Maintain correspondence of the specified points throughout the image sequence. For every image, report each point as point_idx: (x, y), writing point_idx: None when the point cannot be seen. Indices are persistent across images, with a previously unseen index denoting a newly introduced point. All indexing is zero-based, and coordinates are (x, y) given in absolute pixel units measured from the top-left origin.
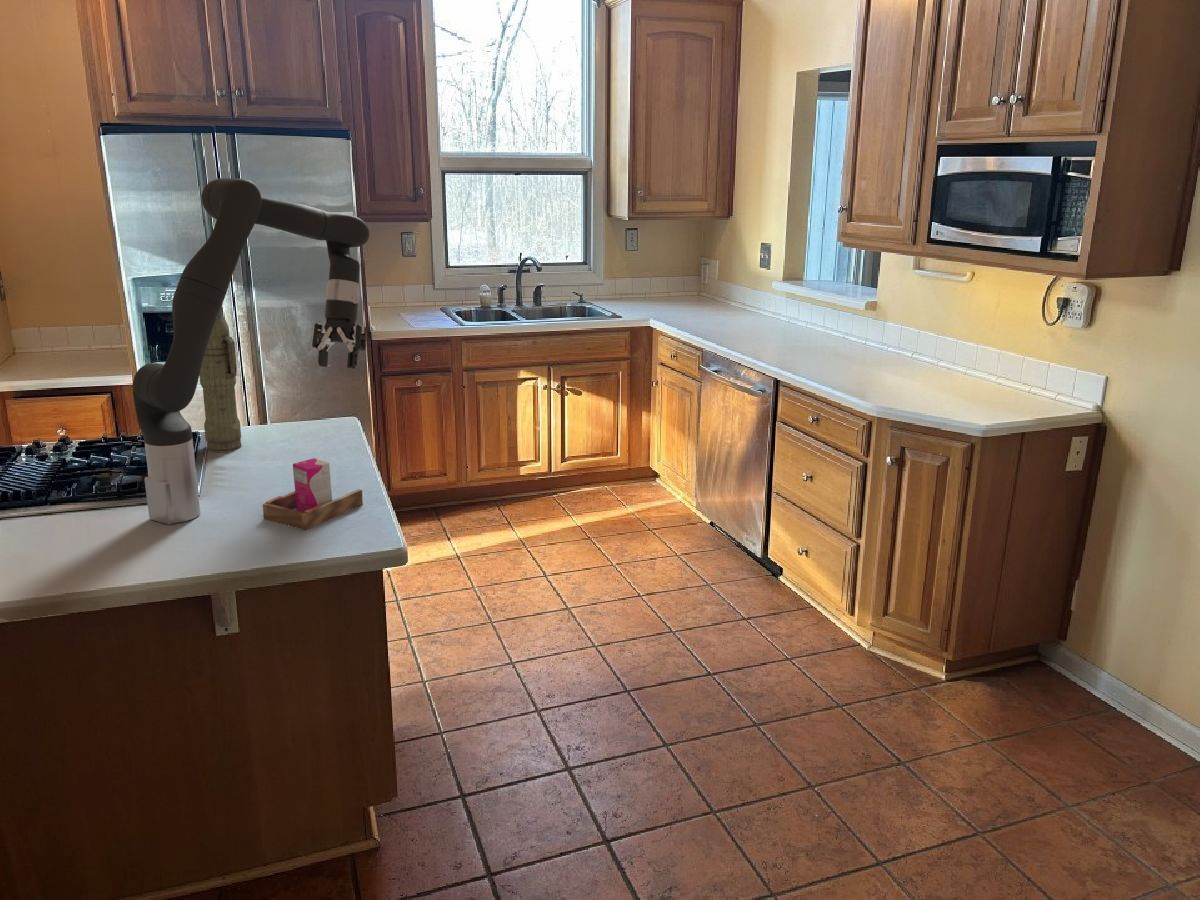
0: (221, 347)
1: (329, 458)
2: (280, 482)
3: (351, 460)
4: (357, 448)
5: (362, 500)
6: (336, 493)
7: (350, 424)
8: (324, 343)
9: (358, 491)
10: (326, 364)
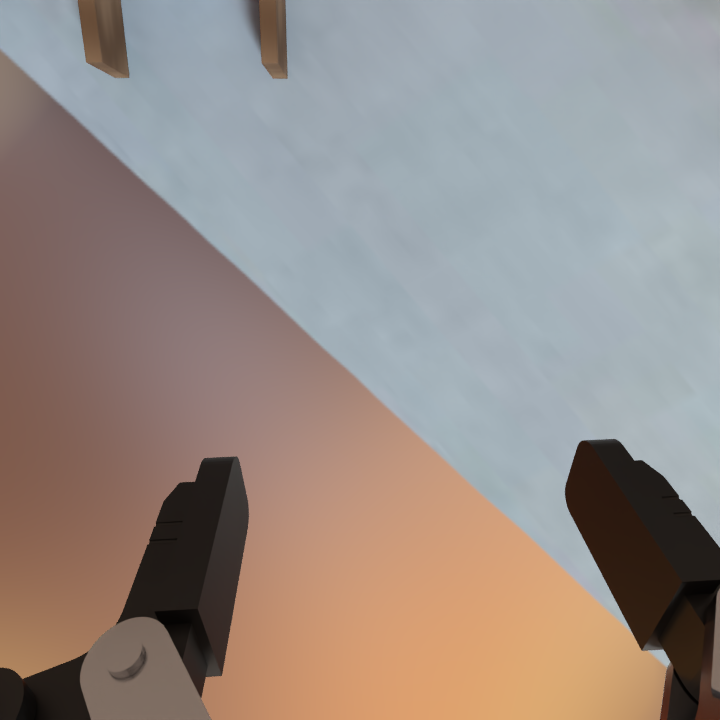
0: None
1: (506, 377)
2: (493, 99)
3: (433, 396)
4: (491, 492)
5: (108, 73)
6: (257, 116)
7: (653, 650)
8: (716, 699)
9: (83, 39)
10: (574, 507)
